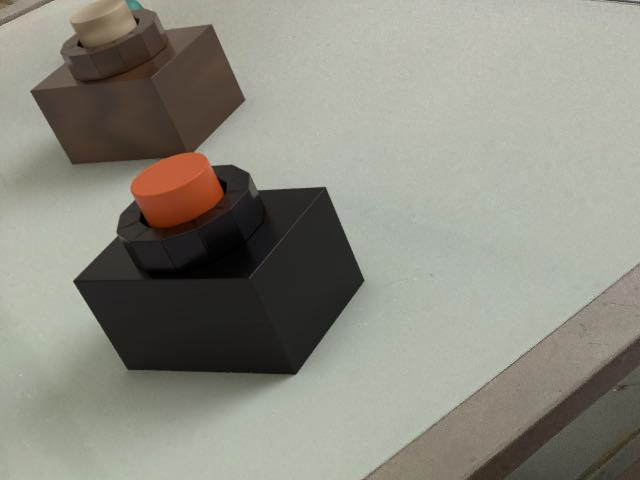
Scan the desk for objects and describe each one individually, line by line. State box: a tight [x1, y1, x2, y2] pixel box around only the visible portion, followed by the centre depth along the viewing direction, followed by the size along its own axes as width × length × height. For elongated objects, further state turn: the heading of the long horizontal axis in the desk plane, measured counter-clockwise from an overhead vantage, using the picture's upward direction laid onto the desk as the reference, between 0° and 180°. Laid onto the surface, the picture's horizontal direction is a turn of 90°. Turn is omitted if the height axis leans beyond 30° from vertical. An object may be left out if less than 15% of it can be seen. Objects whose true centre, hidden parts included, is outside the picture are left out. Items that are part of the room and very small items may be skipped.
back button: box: [68, 0, 137, 48], centre depth 79 cm, size 4×4×2 cm
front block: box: [72, 163, 365, 376], centre depth 59 cm, size 11×8×8 cm
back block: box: [29, 8, 246, 165], centre depth 82 cm, size 11×8×8 cm
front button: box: [129, 151, 224, 228], centre depth 57 cm, size 4×4×2 cm
